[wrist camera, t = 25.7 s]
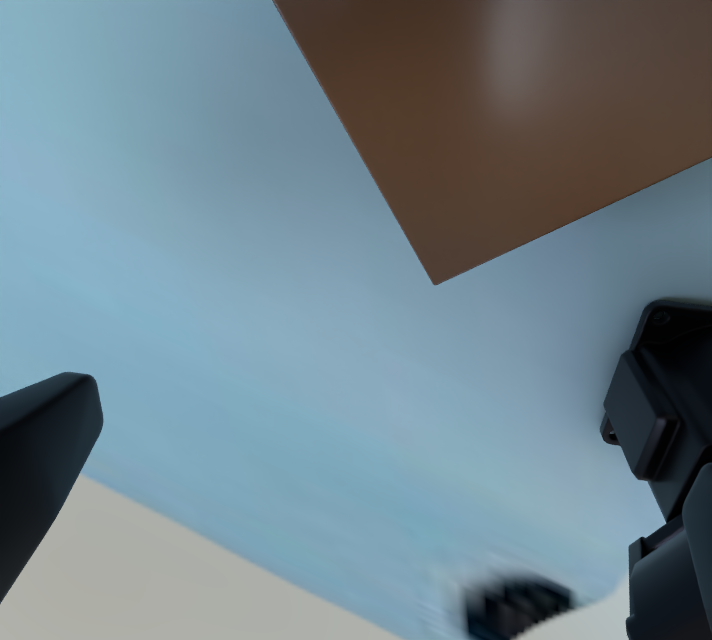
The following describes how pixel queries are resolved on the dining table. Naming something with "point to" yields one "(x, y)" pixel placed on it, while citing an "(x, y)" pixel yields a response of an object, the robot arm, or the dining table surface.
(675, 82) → the cabinet
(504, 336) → the dining table surface
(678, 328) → the robot arm
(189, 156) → the dining table surface
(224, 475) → the dining table surface
